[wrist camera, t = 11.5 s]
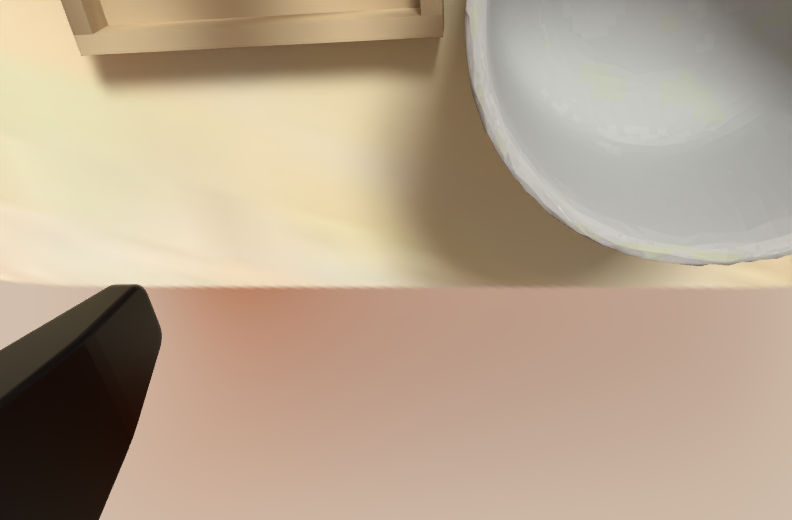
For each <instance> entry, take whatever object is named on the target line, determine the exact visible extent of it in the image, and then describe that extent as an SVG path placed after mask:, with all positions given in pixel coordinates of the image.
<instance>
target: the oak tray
mask: <svg viewBox="0 0 792 520" xmlns="http://www.w3.org/2000/svg"><path fill="white" fill-rule="evenodd" d="M61 2H62V5H63V7H64V10H65V13H66V16H67V18H68V21H69V24H70V26H71V29H72V32H73V34H74V37H75V40H76V43H77V45H78V48H79V51H80V53H81V56H84V55H103V54H122V53H141V52H160V51H179V50H199V49H218V48H237V47H256V46H275V45H294V44H313V43H332V42H352V41H371V40H390V39H409V38H428V37H443V30H444V6H443V0H61Z"/></svg>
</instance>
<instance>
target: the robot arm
mask: <svg viewBox="0 0 792 520" xmlns="http://www.w3.org/2000/svg"><path fill="white" fill-rule="evenodd" d="M161 339H162V333H161V328H160V325H159V322H158V320H157V317H156V314H155V312H154V309H153V307H152V304H151V302H150V299H149V297H148V294H147V292H146V290H145V289H144V288H143V287H142V286H140V285H136V284H131V285H111V286H109V287H107V288H105V289H104V290H102V291H100V292H99V293H97V294H95V295H93V296H92V297H90V298H88V299H87V300H85V301H83V302H82V303H80V304H78V305H76V306H75V307H73V308H71V309H70V310H68V311H66V312H65V313H63V314H61V315H59V316H58V317H56V318H54V319H53V320H51V321H49V322H48V323H46V324H44V325H42V326H41V327H39V328H37V329H36V330H34V331H32V332H30V333H29V334H27V335H25V336H24V337H22V338H21V339H19V340H17V341H16V342H14V343H12V344H10V345H8V346H7V347H5V348H3V349H2V350H0V520H99V518H100V516H101V513H102V511H103V509H104V506H105V504H106V501H107V499H108V497H109V494H110V492H111V489H112V487H113V485H114V482H115V480H116V478H117V475H118V473H119V470H120V468H121V466H122V463H123V461H124V459H125V456H126V454H127V451H128V449H129V446H130V444H131V441H132V439H133V436H134V433H135V429H136V427H137V424H138V420H139V417H140V414H141V410H142V407H143V403H144V400H145V397H146V393H147V390H148V386H149V383H150V380H151V376H152V373H153V370H154V366H155V363H156V359H157V356H158V353H159V350H160V346H161Z"/></svg>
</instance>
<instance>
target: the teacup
mask: <svg viewBox="0 0 792 520" xmlns="http://www.w3.org/2000/svg"><path fill="white" fill-rule="evenodd" d="M465 43H466V57H467V64H468V71H469V77H470V83H471V88H472V93H473V97H474V100H475V103H476V106H477V109H478V112H479V115H480V118H481V120H482V123H483V126H484V129H485V131H486V133H487V134H488V135H489V137H490V139H491V141H492V143H493V145H494V147H495V149H496V151H497V153H498V154H499V156H500V157H501V159H502V160H503V161H504V163H505V164H506V166H507V168H508V169H509V171H510V172H511V174H512V175H513V177H514V178H515V179H516V180H517V181H518V182H519V183H521V185H522V187H523V189H524V190H525V191H526V192H527V193H528V194H530V195H531V196H532V197H534V199H535V200H536V201H537V202H538V203H539V204H540V205H541V206H542V207H543V208H544V209H545V210H546V211H547V212H549V213H550V214H551V215H552V216H554V217H555V218H556V219H558V220H559V221H560V222H562V223H563V224H565V225H566V226H568V227H569V228H571V229H573V230H574V231H576V232H578V233H579V234H581V235H583V236H585V237H587V238H589V239H591V240H593V241H595V242H597V243H599V244H602V245H604V246H607V247H610V248H613V249H616V250H618V251H620V252H622V253H625V254H628V255H632V256H636V257H640V258H644V259H648V260H657V261H663V262H668V263H673V264H684V265H694V266H703V265H707V264H717V265H732V264H735V263H739V262H752V261H757V260H765V259H777V258H781V257H783V256H786V255H790V254H792V0H466V4H465Z"/></svg>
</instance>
